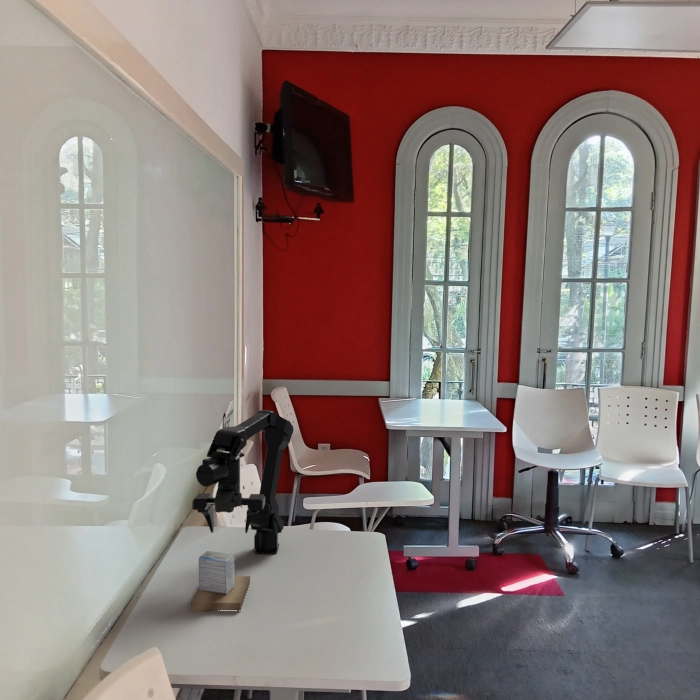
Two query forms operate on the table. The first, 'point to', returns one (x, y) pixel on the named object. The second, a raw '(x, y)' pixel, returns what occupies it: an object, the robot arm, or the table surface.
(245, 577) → the flat brown cardboard box
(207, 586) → the medicine box
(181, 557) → the table surface
